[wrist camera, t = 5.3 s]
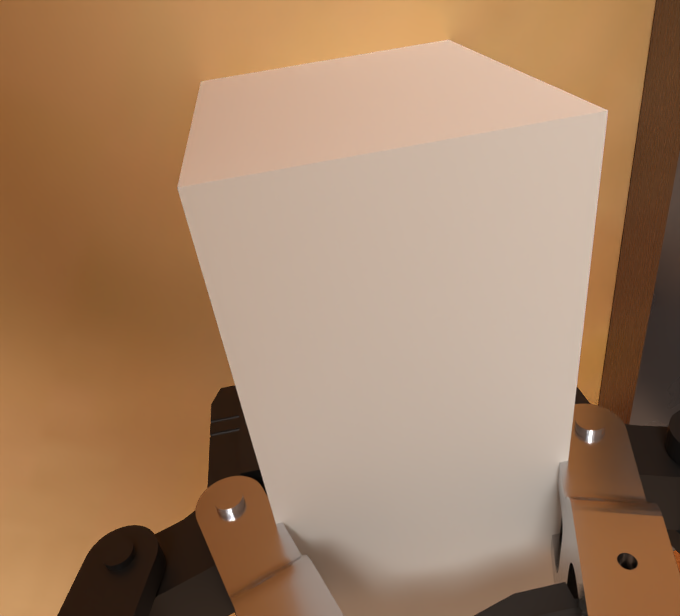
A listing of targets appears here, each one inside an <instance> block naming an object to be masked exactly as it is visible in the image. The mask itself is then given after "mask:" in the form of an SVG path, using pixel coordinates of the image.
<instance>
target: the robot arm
mask: <svg viewBox="0 0 680 616" xmlns="http://www.w3.org/2000/svg"><path fill="white" fill-rule="evenodd" d="M210 435H211V437H210V449H209V472H208V488H207V489H206V490H205V491H204V493H203V494H202V495H201V496H200V498H199V500H198V502H197V505H196V510H195V511H194V512H193V513H192V514H190V515H189V516H188V517H186V518H185V519H184V520H182V521H180V522H178V523H177V524H175V525H173V526H171V527H169V528H167V529H165V530H163V531H161V532H159V533H157V534H154V533H153V532H152V531H151V530H150V529H148V528H146V527H143V526H137V525H132V526H126V527H122V528H119V529H116V530H114V531H112V532H110V533H109V534H107V535H105V536H104V537H103V538H101V539H100V540H99V541H98V542H97V543H96V544H95V545H94V546H93V547H92V549H91V550H90V551H89V553H88V555H87V556H86V558H85V560H84V562H83V564H82V566H81V568H80V570H79V572H78V574H77V577H76V579H75V581H74V583H73V585H72V587H71V589H70V591H69V593H68V595H67V597H66V599H65V601H64V603H63V605H62V607H61V609H60V611H59V613H58V615H57V616H229V615H231V614H232V613H235V615H236V616H344V615H343V613H342V612H341V610H340V608H339V606H338V605H337V603H336V601H335V600H334V598H333V596H332V595H331V593H330V591H329V590H328V588H327V586H326V584H325V583H324V581H323V579H322V578H321V576H320V574H319V573H318V571H317V569H316V568H315V566H314V564H313V563H312V561H311V560H310V558H309V557H308V556H307V555H306V554H305V555H303V556H302V554H301V553H300V551H299V550H298V548H297V546H296V545H295V543H294V541H293V539H292V538H291V536H290V534H289V533H288V531H287V529H286V527H285V526H284V524H283V523H278V524H276V523H275V519H274V516H273V512H272V509H271V506H270V502H269V499H268V495H267V492H266V488H265V485H264V482H263V478H262V475H261V471H260V468H259V465H258V461H257V458H256V454H255V451H254V448H253V444H252V441H251V437H250V434H249V431H248V427H247V424H246V420H245V417H244V414H243V410H242V407H241V403H240V400H239V396H238V393H237V390H236V386H230V387H225V388H221V389H220V390H219V392H218V394H217V396H216V397H215V399H214V401H213V403H212V404H211V426H210ZM558 488H559V495H560V502H561V510H562V520H561V529H560V533H559V534H554V535H552V540H551V549H550V550H551V559H552V569H553V578H554V584H553V585H549V586H545V587H540V588H536V589H531V590H527V591H523V592H518V593H514V594H512V595H510V596H509V597H507V598H505V599H503V600H501V601H499V602H498V603H496V604H494V605H492V606H490V607H488V608H487V609H485V610H483V611H481V612H479V613H478V614H476V615H474V616H680V573H679V569H678V566H677V563H676V559H675V556H674V553H673V549H672V547H673V548H674V549H675V550H676V551H677V552H679V553H680V410H679V411H678V412H676V413H675V414H674V415H672V417H671V419H670V421H669V426H668V427H665V426H640V425H630V424H624V423H623V421H622V420H621V419H620V418H619V417H618V416H617V415H616V414H615V413H613V412H612V411H610V410H608V409H606V408H604V407H601V406H597V405H593V404H590V403H589V402H588V400H587V399H586V398H585V396H584V395H583V394H582V393H581V391H580V390H579V389H578V387H577V388H576V397H575V406H574V414H573V423H572V432H571V441H570V450H569V458H568V461H564V462H559V471H558Z"/></svg>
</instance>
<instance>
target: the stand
mask: <svg viewBox="0 0 680 616" xmlns="http://www.w3.org/2000/svg"><path fill="white" fill-rule="evenodd" d="M599 406H601V407H604V408H606V409H608V410H610V411H612V412H613V413H615V414H616V415H617V416H618V417H619V418H620V419H621V420H622V421H623V423H624V424H630V425H640V426H665V427H668V426H669V421H670V419H671V417H672V415H674V414H675V413H676V412H678V411H679V410H680V0H657V1H656V8H655V15H654V22H653V29H652V36H651V43H650V50H649V57H648V64H647V71H646V78H645V85H644V92H643V99H642V106H641V113H640V120H639V127H638V134H637V141H636V148H635V155H634V162H633V169H632V176H631V183H630V190H629V197H628V204H627V210H626V217H625V224H624V231H623V238H622V245H621V252H620V259H619V266H618V273H617V280H616V287H615V294H614V301H613V308H612V315H611V322H610V329H609V336H608V343H607V350H606V357H605V364H604V371H603V378H602V385H601V392H600V399H599ZM672 549H673V551H675V549H674V548H673V547H672Z"/></svg>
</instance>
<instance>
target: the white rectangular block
mask: <svg viewBox="0 0 680 616" xmlns="http://www.w3.org/2000/svg"><path fill="white" fill-rule="evenodd" d="M607 115H608V110H606V109H604V108H601V107H599V106H597V105H595V104H592V103H590V102H588V101H586V100H583V99H581V98H579V97H577V96H574V95H572V94H570V93H568V92H565V91H563V90H561V89H559V88H556V87H554V86H552V85H550V84H547V83H545V82H543V81H541V80H538V79H536V78H534V77H531V76H529V75H527V74H525V73H522V72H520V71H518V70H516V69H513V68H511V67H509V66H507V65H504V64H502V63H500V62H498V61H495V60H493V59H491V58H489V57H486V56H484V55H482V54H480V53H477V52H475V51H473V50H471V49H468V48H466V47H464V46H462V45H459V44H457V43H455V42H453V41H450V40H443V41H437V42H432V43H426V44H420V45H414V46H408V47H402V48H396V49H390V50H384V51H378V52H372V53H366V54H360V55H355V56H349V57H343V58H337V59H331V60H325V61H319V62H313V63H307V64H301V65H295V66H289V67H283V68H277V69H272V70H266V71H260V72H254V73H248V74H242V75H236V76H230V77H224V78H218V79H212V80H206V81H201V83H200V88H199V92H198V97H197V101H196V106H195V110H194V115H193V119H192V123H191V128H190V132H189V137H188V141H187V146H186V150H185V155H184V159H183V164H182V168H181V173H180V177H179V182H178V186H177V189H178V192H179V195H180V199H181V202H182V206H183V209H184V212H185V216H186V219H187V223H188V226H189V230H190V233H191V236H192V240H193V243H194V247H195V250H196V253H197V257H198V260H199V264H200V267H201V270H202V274H203V277H204V281H205V284H206V287H207V291H208V294H209V298H210V301H211V304H212V308H213V311H214V315H215V318H216V322H217V325H218V328H219V332H220V335H221V339H222V342H223V345H224V349H225V352H226V356H227V359H228V362H229V366H230V369H231V373H232V376H233V379H234V383H235V386H236V390H237V393H238V396H239V400H240V403H241V407H242V410H243V414H244V417H245V420H246V424H247V427H248V431H249V434H250V437H251V441H252V444H253V448H254V451H255V454H256V458H257V461H258V465H259V468H260V471H261V475H262V478H263V482H264V485H265V488H266V492H267V495H268V499H269V502H270V506H271V509H272V512H273V516H274V519H275V523H276V524H278V523H283V524H284V526H285V527H286V529H287V531H288V533H289V534H290V536H291V538H292V539H293V541H294V543H295V545H296V546H297V548H298V550H299V551H300V553H301V554H302V556H303V555H305V554H306V555H307V556H308V557H309V558H310V560H311V561H312V563H313V564H314V566H315V568H316V569H317V571H318V573H319V574H320V576H321V578H322V579H323V581H324V583H325V584H326V586H327V588H328V590H329V591H330V593H331V595H332V596H333V598H334V600H335V601H336V603H337V605H338V606H339V608H340V610H341V612H342V613H343V615H344V616H474V615H476V614H478V613H479V612H481V611H483V610H485V609H487V608H488V607H490V606H492V605H494V604H496V603H498V602H499V601H501V600H503V599H505V598H507V597H509V596H510V595H512V594H514V593H518V592H523V591H527V590H531V589H536V588H540V587H545V586H549V585H553V584H554V578H553V569H552V559H551V550H550V549H551V540H552V535H554V534H559V533H560V529H561V520H562V510H561V502H560V495H559V488H558V471H559V462H564V461H568V458H569V450H570V441H571V432H572V423H573V414H574V406H575V397H576V388H577V379H578V370H579V362H580V353H581V344H582V335H583V326H584V318H585V309H586V300H587V291H588V282H589V274H590V265H591V256H592V247H593V238H594V230H595V221H596V212H597V203H598V194H599V186H600V177H601V168H602V159H603V150H604V142H605V133H606V124H607Z"/></svg>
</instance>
